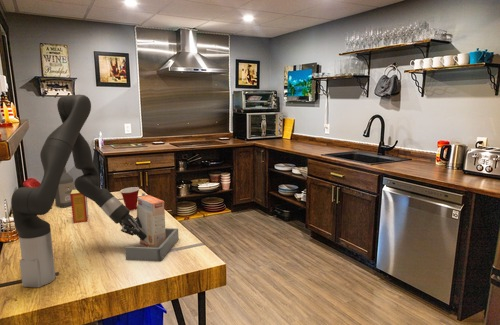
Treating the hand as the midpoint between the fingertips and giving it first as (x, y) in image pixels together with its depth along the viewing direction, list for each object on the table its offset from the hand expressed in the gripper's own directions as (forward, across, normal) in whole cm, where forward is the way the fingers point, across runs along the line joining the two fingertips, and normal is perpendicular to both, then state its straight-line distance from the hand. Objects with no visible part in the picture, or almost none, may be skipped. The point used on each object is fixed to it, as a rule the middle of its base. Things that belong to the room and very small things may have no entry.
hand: (144, 238), depth 145 cm
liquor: (-49, +56, +56) cm, 93 cm away
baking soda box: (-32, +32, +38) cm, 59 cm away
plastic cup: (-19, +53, +25) cm, 62 cm away
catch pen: (+6, 0, 0) cm, 6 cm away
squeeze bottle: (-3, +22, +10) cm, 24 cm away
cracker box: (+5, +4, +2) cm, 6 cm away
